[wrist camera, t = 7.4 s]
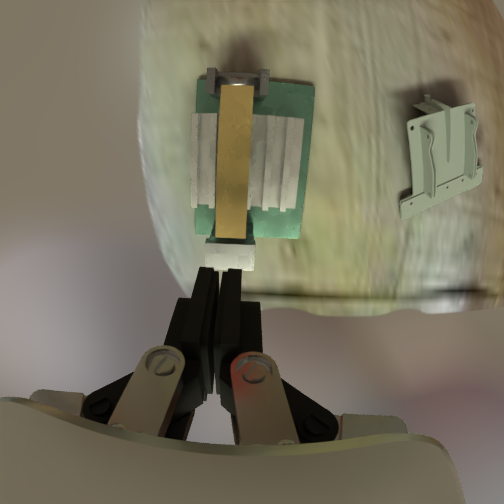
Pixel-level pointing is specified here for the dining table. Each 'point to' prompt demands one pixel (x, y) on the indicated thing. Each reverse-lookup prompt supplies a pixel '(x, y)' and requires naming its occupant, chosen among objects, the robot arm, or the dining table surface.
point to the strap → (234, 154)
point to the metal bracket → (441, 155)
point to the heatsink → (253, 165)
